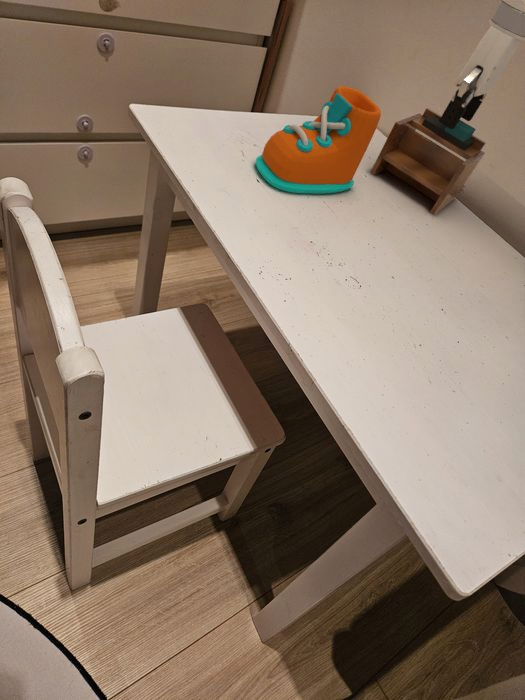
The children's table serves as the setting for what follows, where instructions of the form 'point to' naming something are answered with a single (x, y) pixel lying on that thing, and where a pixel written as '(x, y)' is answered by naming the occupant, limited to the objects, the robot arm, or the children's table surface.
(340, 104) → the toy shoe
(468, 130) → the teal two-tone block
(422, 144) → the shoe rack
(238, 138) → the children's table surface
